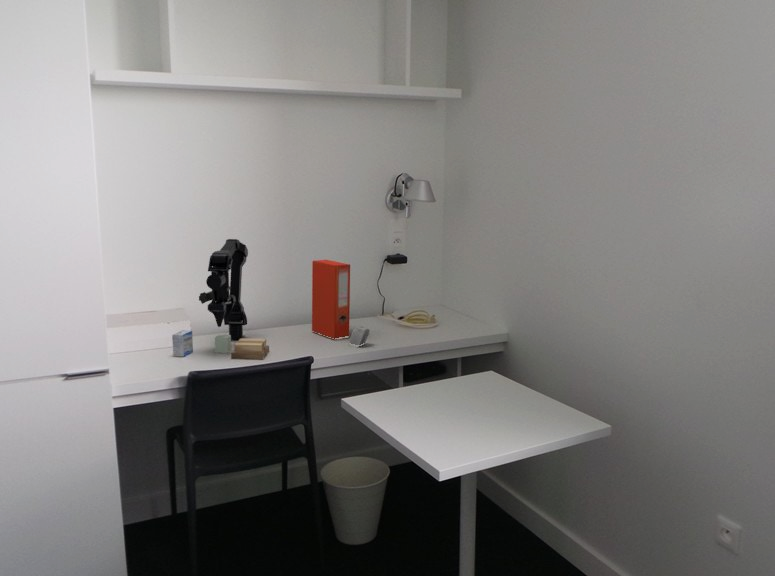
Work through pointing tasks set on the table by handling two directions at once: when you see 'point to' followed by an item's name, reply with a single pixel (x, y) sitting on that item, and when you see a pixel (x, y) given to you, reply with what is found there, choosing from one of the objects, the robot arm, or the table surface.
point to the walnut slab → (250, 355)
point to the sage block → (222, 343)
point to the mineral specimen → (359, 335)
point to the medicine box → (182, 343)
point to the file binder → (330, 298)
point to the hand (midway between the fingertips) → (222, 323)
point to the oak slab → (250, 345)
